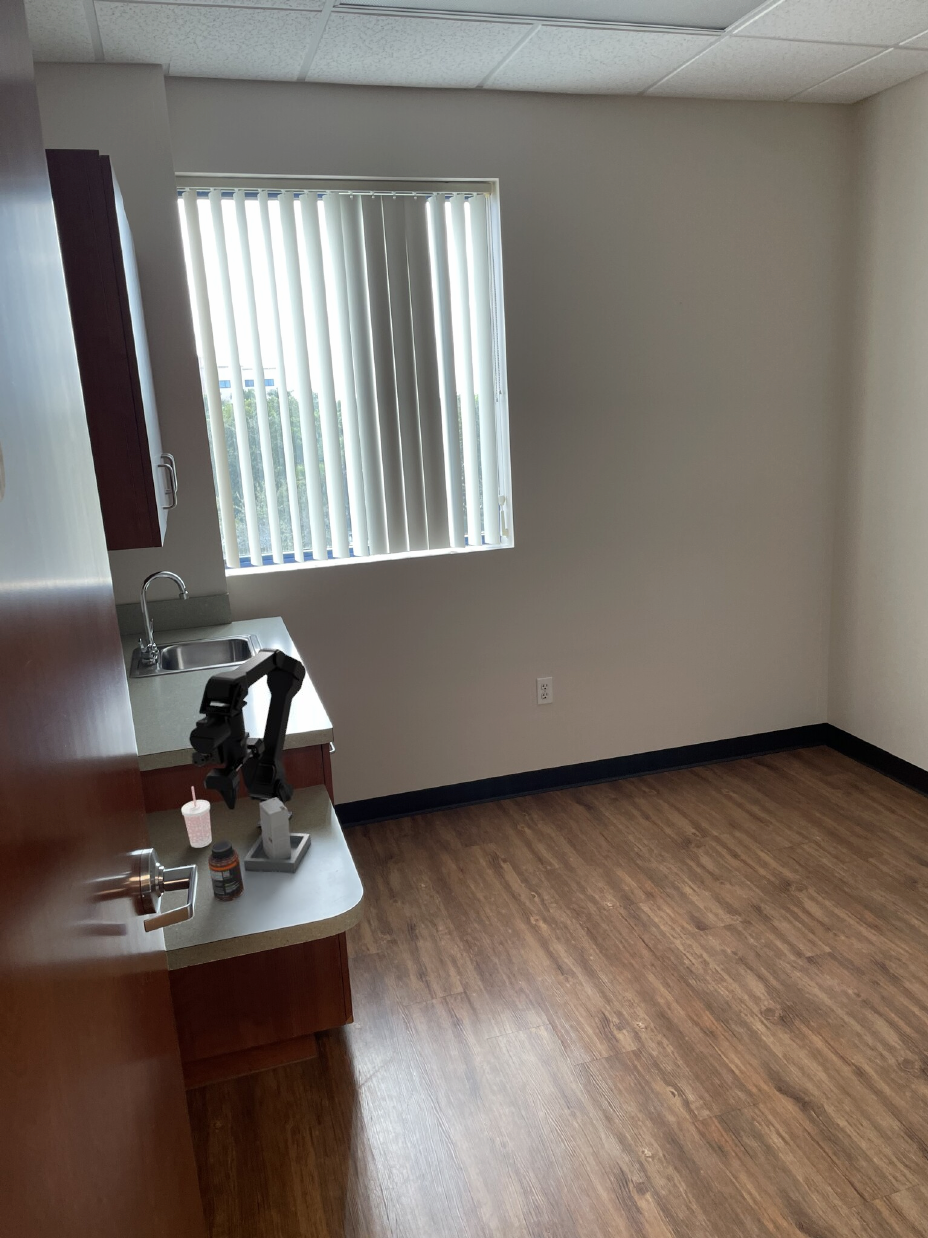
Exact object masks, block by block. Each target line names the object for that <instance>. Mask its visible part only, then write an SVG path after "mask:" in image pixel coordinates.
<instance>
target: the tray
mask: <svg viewBox="0 0 928 1238" xmlns="http://www.w3.org/2000/svg"><path fill="white" fill-rule="evenodd" d="M289 834H290V847H291V857H289V858H287V859H284V860H281V859H269V857H268V856H267V855H266V853H265V852H264V848H263V837H262V833H261V834H260V835H259V836H258V838H257V840H256V841H255V843H254V844H253V846H252V847H251V849H250V850H249V852H248V853H247V854H246V857H245V858H244V860H243V863H244V864H243V865H244V871H247V872H265V873H284V874H296V872H297V870H298V869H299V867H300V865H301V864H302V861H303V860H304V857H305V856H306V853H307V852H308V850H309V848H310V846H311V845H312V842H311V841H312V840H311V839H312V838H311V833H299V832H297V833H294V832H289Z"/></svg>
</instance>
